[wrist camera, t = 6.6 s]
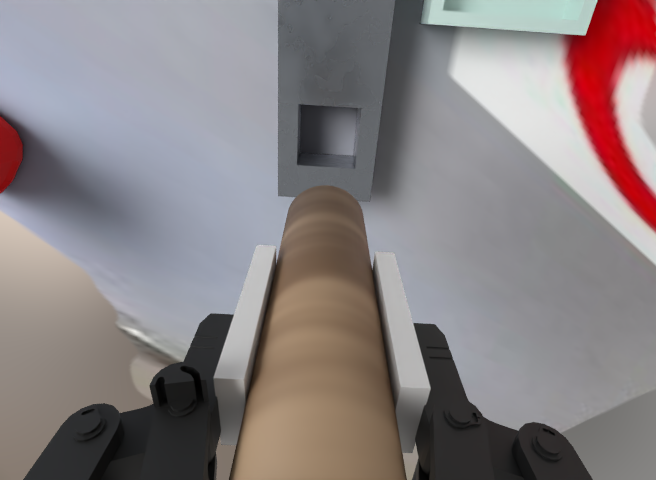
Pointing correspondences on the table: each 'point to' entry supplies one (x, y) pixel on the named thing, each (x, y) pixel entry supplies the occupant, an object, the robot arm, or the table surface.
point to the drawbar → (331, 87)
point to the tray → (512, 14)
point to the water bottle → (9, 154)
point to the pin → (321, 357)
